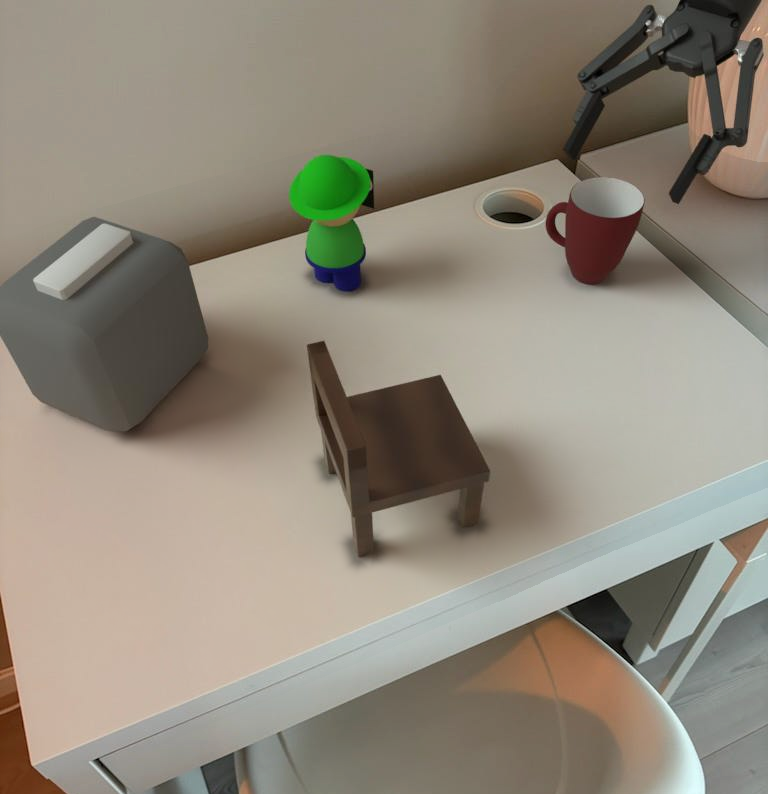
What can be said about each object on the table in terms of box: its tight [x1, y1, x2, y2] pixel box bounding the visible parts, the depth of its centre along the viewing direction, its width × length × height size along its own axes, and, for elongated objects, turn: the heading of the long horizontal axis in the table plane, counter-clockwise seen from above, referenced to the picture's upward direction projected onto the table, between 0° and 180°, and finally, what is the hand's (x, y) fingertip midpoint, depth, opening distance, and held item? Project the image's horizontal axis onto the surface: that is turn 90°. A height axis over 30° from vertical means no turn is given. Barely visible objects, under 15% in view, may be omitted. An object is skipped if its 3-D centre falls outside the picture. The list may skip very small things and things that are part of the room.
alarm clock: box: [0, 216, 209, 432], centre depth 74 cm, size 16×11×16 cm
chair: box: [306, 340, 491, 558], centre depth 65 cm, size 12×12×15 cm
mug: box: [545, 176, 646, 285], centre depth 86 cm, size 10×8×10 cm
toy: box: [288, 154, 375, 292], centre depth 84 cm, size 9×9×15 cm
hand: (619, 176), depth 84 cm, fingers open, 13 cm apart
